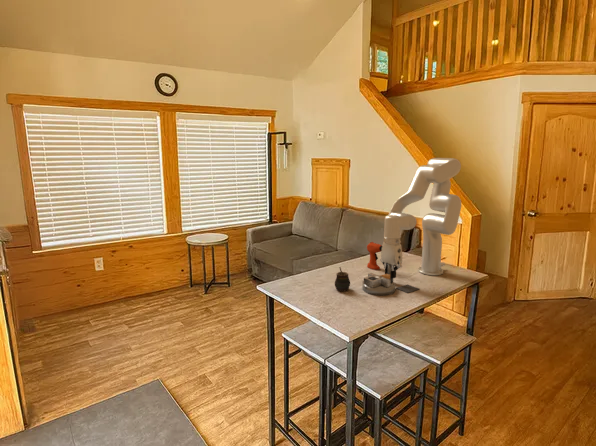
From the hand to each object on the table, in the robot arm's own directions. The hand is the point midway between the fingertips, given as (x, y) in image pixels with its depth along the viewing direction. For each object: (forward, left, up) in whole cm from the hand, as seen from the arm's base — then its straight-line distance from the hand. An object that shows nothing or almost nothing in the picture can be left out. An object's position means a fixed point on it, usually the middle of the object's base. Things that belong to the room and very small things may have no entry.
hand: (390, 276), depth 184 cm
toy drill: (-10, -17, -3) cm, 20 cm away
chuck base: (+11, +3, -3) cm, 12 cm away
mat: (-1, +11, -3) cm, 11 cm away
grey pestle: (0, 0, -3) cm, 3 cm away
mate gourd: (+25, -7, -4) cm, 26 cm away
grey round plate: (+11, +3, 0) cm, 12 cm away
